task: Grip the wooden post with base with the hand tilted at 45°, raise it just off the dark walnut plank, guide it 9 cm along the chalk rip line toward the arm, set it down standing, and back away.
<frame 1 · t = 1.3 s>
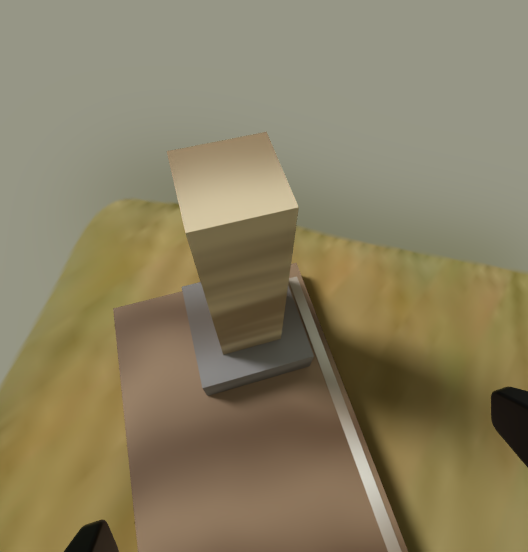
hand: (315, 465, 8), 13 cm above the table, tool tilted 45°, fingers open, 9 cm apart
plank: (249, 451, 20), on the table
wooden post with base: (246, 332, 22), point 1 cm above the table, touching plank
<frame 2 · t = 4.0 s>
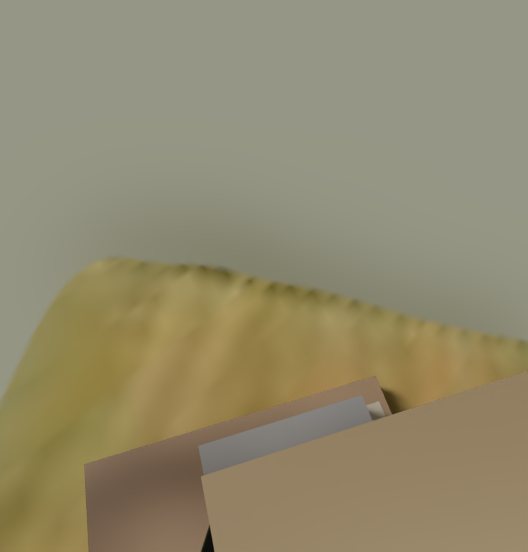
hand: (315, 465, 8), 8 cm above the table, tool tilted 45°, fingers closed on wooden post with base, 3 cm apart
wooden post with base: (305, 512, 13), point 1 cm above the table, touching gripper, plank
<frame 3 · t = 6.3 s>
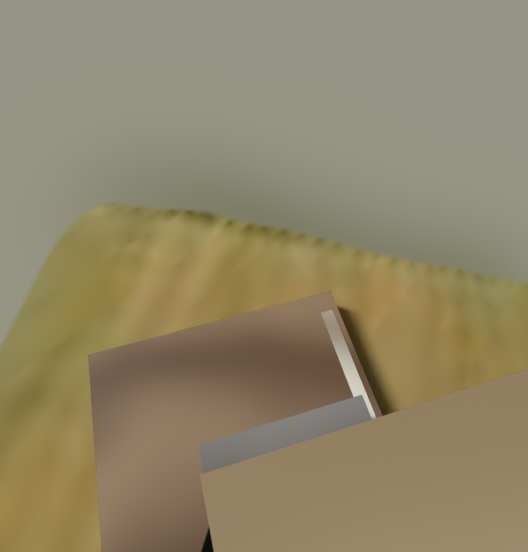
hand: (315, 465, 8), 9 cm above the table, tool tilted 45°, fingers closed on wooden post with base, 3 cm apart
wooden post with base: (305, 512, 13), point 3 cm above the table, touching gripper
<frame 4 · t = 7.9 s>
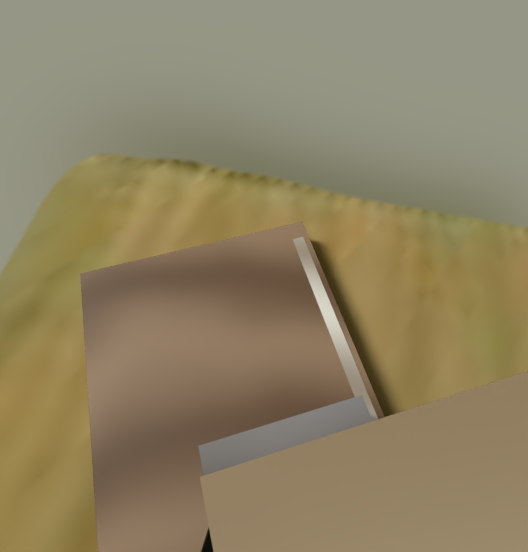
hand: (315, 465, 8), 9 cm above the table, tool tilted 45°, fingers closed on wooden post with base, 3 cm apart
plank: (245, 445, 16), on the table
wooden post with base: (305, 512, 13), point 2 cm above the table, touching gripper
when the fingers open (8 cm above the table, at t = 8.9 s): wooden post with base stays where it is, resting on plank.
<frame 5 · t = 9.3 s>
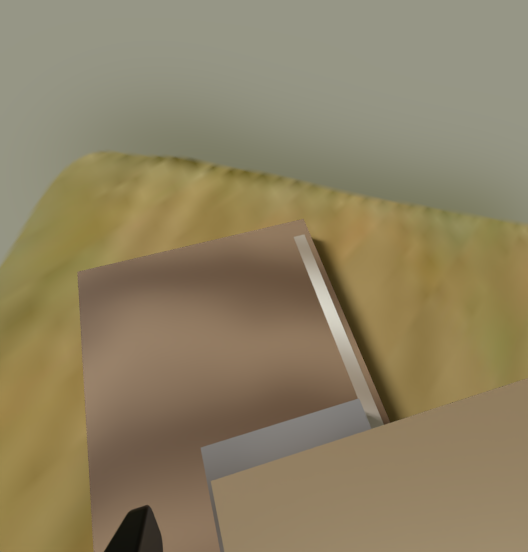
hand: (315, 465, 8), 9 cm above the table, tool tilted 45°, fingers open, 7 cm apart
plank: (245, 447, 16), on the table
wooden post with base: (304, 512, 14), point 1 cm above the table, touching plank
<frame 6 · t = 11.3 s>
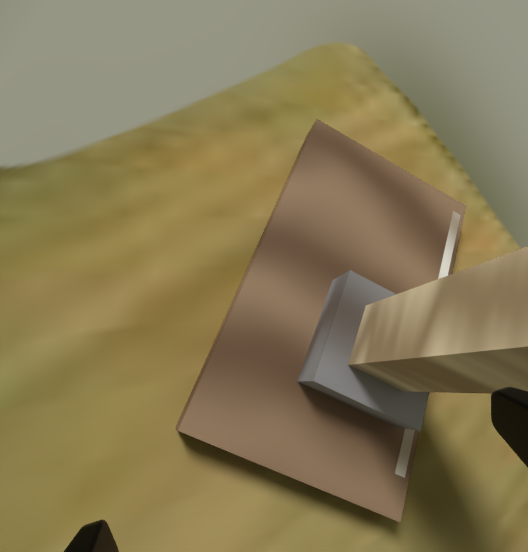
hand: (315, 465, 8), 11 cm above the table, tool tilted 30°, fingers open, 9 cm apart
plank: (340, 299, 22), on the table
wooden post with base: (362, 351, 20), point 1 cm above the table, touching plank
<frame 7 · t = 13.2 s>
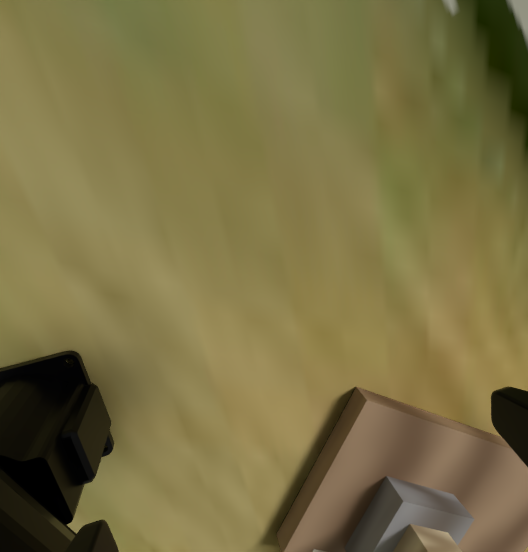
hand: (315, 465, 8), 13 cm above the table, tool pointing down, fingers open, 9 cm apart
plank: (428, 493, 28), on the table
wooden post with base: (399, 520, 26), point 1 cm above the table, touching plank
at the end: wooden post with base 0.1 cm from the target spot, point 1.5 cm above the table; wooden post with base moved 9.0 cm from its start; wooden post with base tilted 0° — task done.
